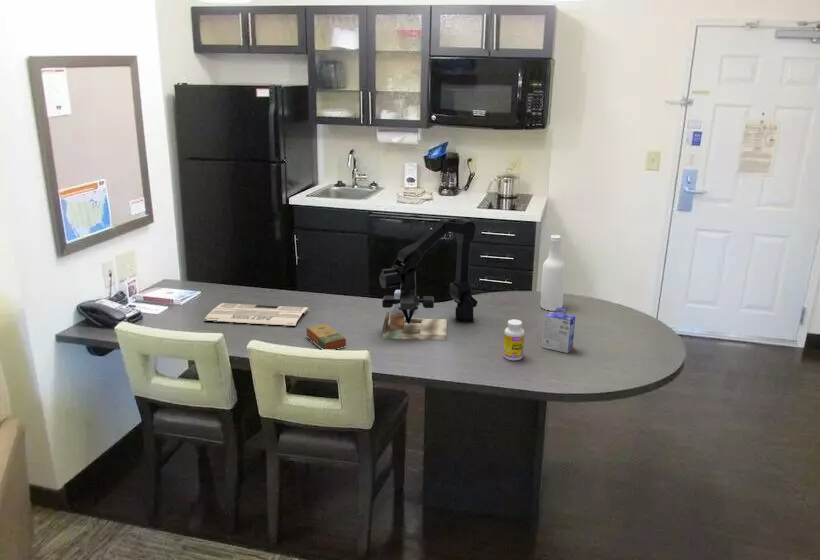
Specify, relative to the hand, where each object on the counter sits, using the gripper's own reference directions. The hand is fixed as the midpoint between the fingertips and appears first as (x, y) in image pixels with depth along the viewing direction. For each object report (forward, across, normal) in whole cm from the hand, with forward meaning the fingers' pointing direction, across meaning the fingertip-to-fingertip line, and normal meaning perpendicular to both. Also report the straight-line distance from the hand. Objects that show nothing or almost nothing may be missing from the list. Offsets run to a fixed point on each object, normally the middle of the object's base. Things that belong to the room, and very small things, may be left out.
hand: (408, 323), depth 249 cm
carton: (+4, -29, -11) cm, 31 cm away
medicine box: (+3, -3, +20) cm, 20 cm away
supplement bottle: (+4, +37, -21) cm, 42 cm away
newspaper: (+4, -61, +12) cm, 62 cm away
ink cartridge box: (+4, +53, -13) cm, 55 cm away
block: (+1, -4, 0) cm, 4 cm away
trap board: (+3, +2, 0) cm, 4 cm away
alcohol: (+4, +56, +26) cm, 62 cm away
